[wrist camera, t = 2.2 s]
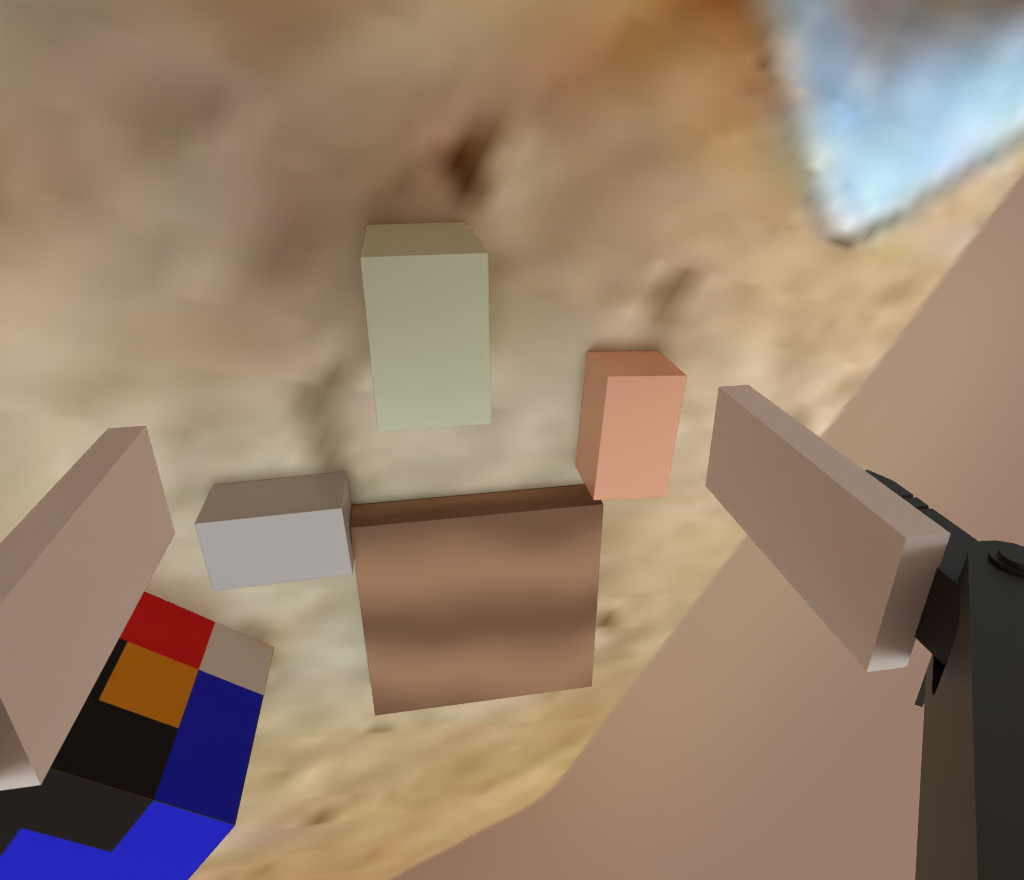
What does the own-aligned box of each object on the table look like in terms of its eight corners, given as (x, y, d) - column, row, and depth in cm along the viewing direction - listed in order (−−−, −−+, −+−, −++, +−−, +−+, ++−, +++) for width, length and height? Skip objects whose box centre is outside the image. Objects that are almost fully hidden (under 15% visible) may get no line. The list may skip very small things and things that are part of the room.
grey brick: (230, 545, 32) (213, 590, 29) (214, 482, 31) (194, 523, 28) (356, 531, 33) (352, 574, 30) (346, 469, 32) (341, 508, 28)
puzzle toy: (274, 646, 35) (235, 825, 26) (180, 763, 38) (115, 962, 29) (82, 563, 31) (-40, 741, 22) (-9, 700, 34) (-151, 908, 25)
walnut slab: (352, 505, 32) (350, 527, 30) (592, 483, 34) (603, 504, 32) (375, 687, 37) (375, 715, 36) (582, 660, 39) (591, 686, 37)
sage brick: (367, 224, 27) (360, 257, 21) (465, 221, 27) (487, 252, 21) (380, 365, 29) (378, 432, 23) (470, 359, 30) (491, 423, 24)
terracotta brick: (586, 350, 31) (607, 376, 28) (657, 349, 31) (686, 375, 28) (574, 464, 33) (593, 500, 30) (641, 462, 34) (665, 496, 31)
